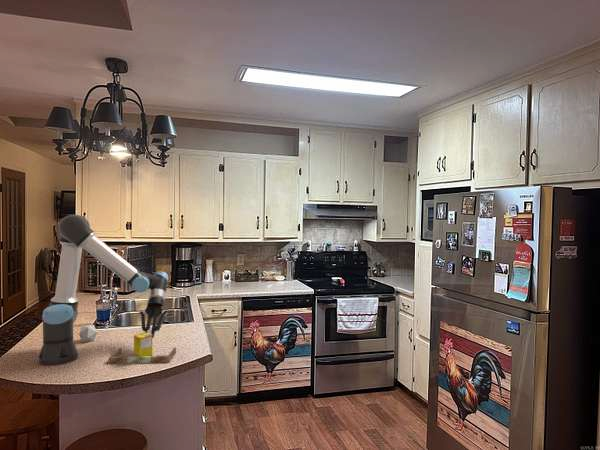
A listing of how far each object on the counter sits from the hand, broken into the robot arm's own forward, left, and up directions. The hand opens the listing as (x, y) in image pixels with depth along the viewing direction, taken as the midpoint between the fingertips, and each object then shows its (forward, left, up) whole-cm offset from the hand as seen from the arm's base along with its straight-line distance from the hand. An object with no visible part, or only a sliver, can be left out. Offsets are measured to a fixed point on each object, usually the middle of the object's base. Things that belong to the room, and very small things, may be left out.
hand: (147, 344), depth 189 cm
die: (-37, +23, -5) cm, 43 cm away
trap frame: (-1, -4, -5) cm, 6 cm away
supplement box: (0, -5, -5) cm, 7 cm away
